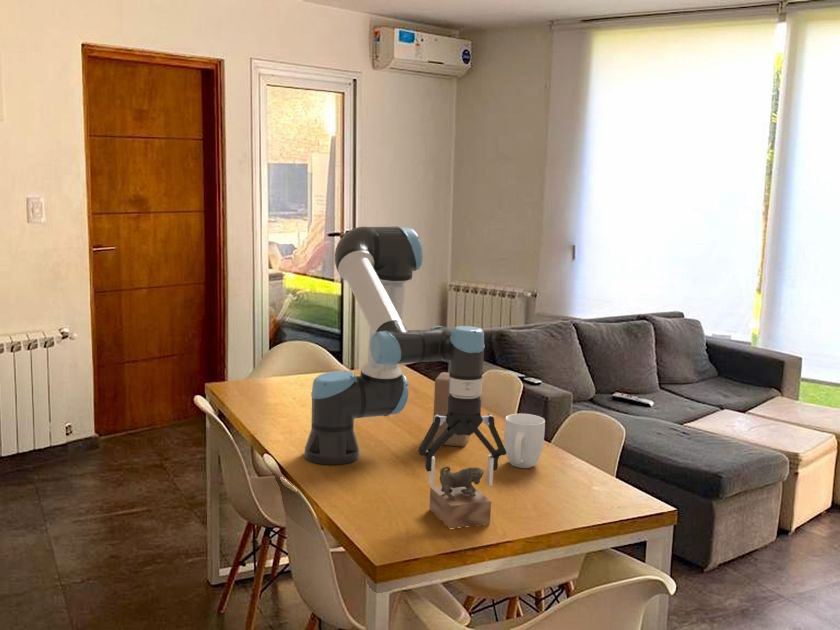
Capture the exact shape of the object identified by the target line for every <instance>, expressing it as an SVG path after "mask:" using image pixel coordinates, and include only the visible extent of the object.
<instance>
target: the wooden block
mask: <svg viewBox="0 0 840 630" xmlns="http://www.w3.org/2000/svg"><path fill="white" fill-rule="evenodd" d="M449 373H450V372H446V371H444V372H441V373H439V374H438V375H437V377H436V378H435V380H434V396H433V397H434V398H433V416H432V417H434V415H435V414H438V415H439V416H446V415H447V413H448V396H449V395H450V393H449ZM447 427H448V424H447V423H446V422H443V424H442V425H440V426H439V429H438V431H437V432H436V434H435V436H434V438H433V440H432V441H431V442H432V444H433V443H434V442H435V441H436V440H437V439H438V438H439V436H440V435H441V434H442V433H443V432H444V430H445V429H446V428H447ZM470 436H471V435H456V434H454V435H453V436H452V437H451V438H449V439H448V440H447V441H446V442H445V443H444V445H443V446H450V447H453V446H454V447H465V446H466V445H467V442H468V440H469V438H470Z"/></svg>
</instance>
